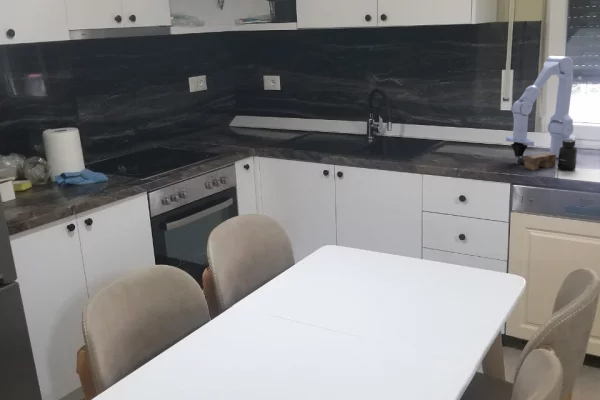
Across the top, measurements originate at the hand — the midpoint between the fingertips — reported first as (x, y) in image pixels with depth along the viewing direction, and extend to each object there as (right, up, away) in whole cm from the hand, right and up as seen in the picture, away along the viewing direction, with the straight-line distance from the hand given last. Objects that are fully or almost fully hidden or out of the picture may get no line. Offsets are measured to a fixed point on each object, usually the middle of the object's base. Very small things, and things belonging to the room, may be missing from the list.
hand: (518, 160), depth 271 cm
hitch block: (+5, -4, -10) cm, 11 cm away
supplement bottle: (+14, -5, -15) cm, 21 cm away
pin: (+3, -2, -5) cm, 6 cm away
